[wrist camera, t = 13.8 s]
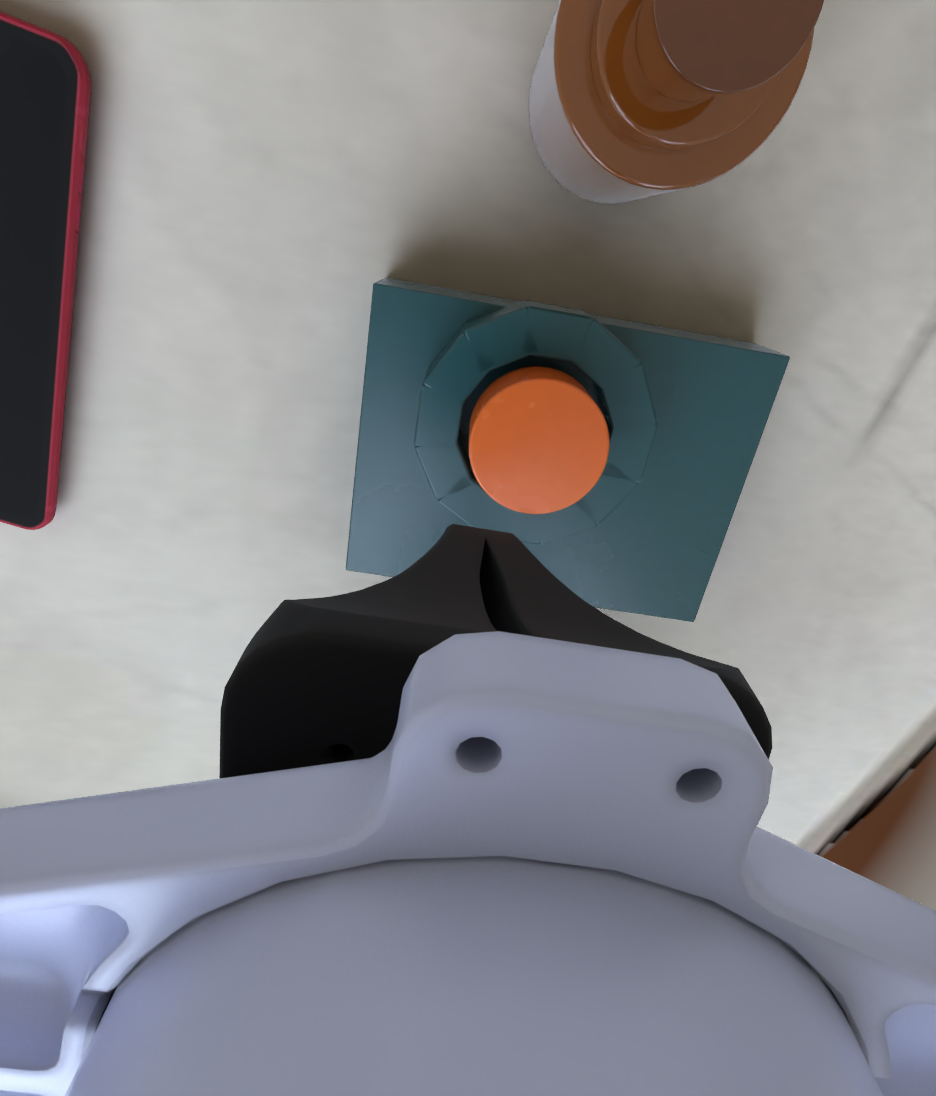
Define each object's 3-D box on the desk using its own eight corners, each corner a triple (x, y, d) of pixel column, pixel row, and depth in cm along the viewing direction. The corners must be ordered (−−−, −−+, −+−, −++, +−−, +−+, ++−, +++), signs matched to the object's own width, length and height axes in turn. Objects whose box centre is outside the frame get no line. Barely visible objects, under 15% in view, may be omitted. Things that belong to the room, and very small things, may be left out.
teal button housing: (757, 335, 21) (824, 358, 17) (672, 585, 25) (711, 652, 21) (386, 268, 20) (364, 276, 16) (358, 536, 24) (334, 597, 20)
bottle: (738, 128, 19) (959, 36, 10) (587, 240, 20) (671, 242, 11) (652, -57, 17) (833, -353, 9) (494, 79, 18) (511, -61, 10)
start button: (612, 377, 18) (626, 391, 16) (581, 501, 19) (591, 524, 18) (481, 355, 18) (482, 366, 16) (459, 481, 19) (458, 503, 18)
